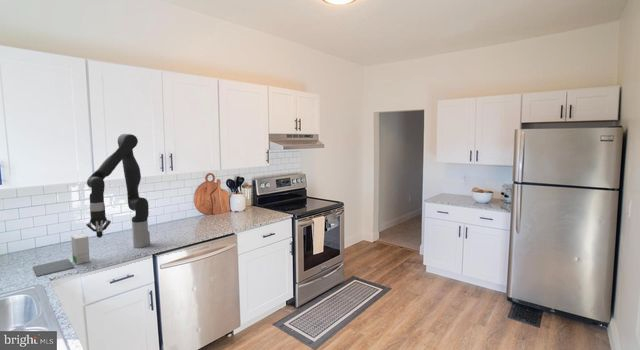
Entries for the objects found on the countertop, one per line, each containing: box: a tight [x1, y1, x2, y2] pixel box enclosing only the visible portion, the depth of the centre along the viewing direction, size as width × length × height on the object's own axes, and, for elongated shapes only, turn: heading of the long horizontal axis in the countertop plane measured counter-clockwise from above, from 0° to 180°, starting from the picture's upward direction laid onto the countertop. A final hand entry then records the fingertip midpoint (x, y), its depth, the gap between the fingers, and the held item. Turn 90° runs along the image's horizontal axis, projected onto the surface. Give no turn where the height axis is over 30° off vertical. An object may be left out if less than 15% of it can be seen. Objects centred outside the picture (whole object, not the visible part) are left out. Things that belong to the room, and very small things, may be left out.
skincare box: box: [70, 233, 91, 265], centre depth 191 cm, size 8×7×16 cm
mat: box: [32, 258, 75, 278], centre depth 183 cm, size 16×18×1 cm
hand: (99, 237), depth 198 cm, fingers closed
